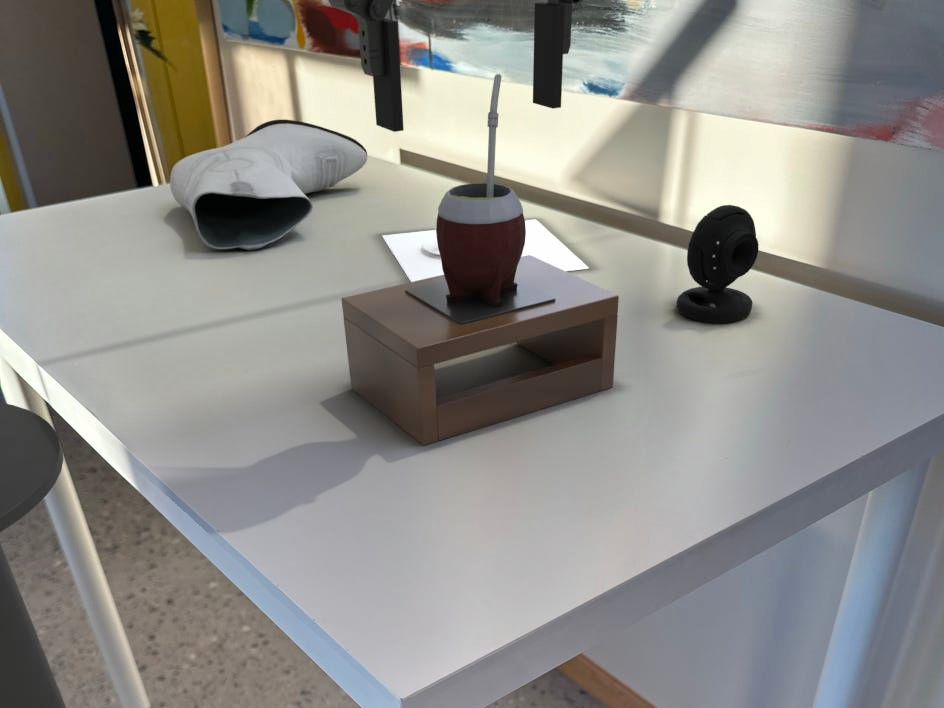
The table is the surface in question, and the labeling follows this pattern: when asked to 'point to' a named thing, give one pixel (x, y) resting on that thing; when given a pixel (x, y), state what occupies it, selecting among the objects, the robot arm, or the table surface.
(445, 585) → the table surface
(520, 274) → the shelf
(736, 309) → the webcam
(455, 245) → the mate gourd
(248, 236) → the cowboy boot
